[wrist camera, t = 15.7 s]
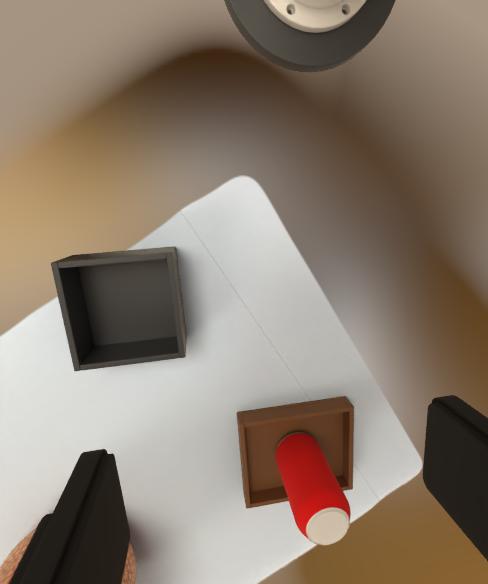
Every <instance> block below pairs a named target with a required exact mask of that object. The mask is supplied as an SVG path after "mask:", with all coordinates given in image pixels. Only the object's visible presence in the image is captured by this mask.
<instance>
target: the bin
mask: <svg viewBox="0 0 488 584" xmlns="http://www.w3.org/2000/svg"><path fill="white" fill-rule="evenodd" d="M51 266H52V271H53V275H54V280H55V284H56V289H57V293H58V298H59V303H60V307H61V312H62V316H63V321H64V325H65V330H66V334H67V339H68V343H69V348H70V353H71V357H72V362H73V366H74V371H80V370H88V369H96V368H104V367H112V366H120V365H128V364H136V363H144V362H152V361H160V360H168V359H176V358H179V357H180V358H184V357H185V354H186V340H187V336H186V328H185V320H184V312H183V303H182V295H181V287H180V279H179V271H178V263H177V255H176V247H164V248H152V249H140V250H128V251H117V252H105V253H93V254H81V255H72V256H69V257H66V258H63V259H61V260H58V261H55V262H52V263H51Z"/></svg>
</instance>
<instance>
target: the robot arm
mask: <svg viewBox="0 0 488 584" xmlns="http://www.w3.org/2000/svg"><path fill="white" fill-rule="evenodd" d="M264 2H265V3H266V4H267V6H268V7H269V8H270V10H271V11H272V12H273V13H274V14H275V15H276V16H277V17H278V18H279V19H280V20H281V21H283V22H284V23H286V24H288V25H289V26H291V27H293V28H295V29H298V30H301V31H304V32H312V33H319V32H327V31H330V30H333V29H335V28H338V27H340V26H341V25H343V24H344V23H346V22H348V21H349V20H350V19H351V18H352V17H353V16H354V15H355V14H356V13H357V12H358V11H359V9H360V8H361V7H362V6H363V4H364V3H365V2H366V0H264ZM288 12H289V13H290V14H291V15H290V14H288ZM342 12H343V13H344V14H343V13H342ZM423 480H424V483H425V485H426V487H427V489H428V490H429V491H430V492H431V494H432V495H433V496H434V497H435V498H436V500H437V501H438V502H439V503H440V504H441V506H442V507H443V508H444V509H445V510H446V512H447V513H448V514H449V515H450V516H451V518H452V519H453V520H454V521H455V522H456V524H457V525H458V526H459V527H460V528H461V530H462V531H463V532H464V533H465V534H466V536H467V537H468V538H469V539H470V540H471V541H472V543H473V544H474V545H475V546H476V548H478V550H479V551H480V552H481V554H482V555H483V556H484V557H485V558H486V559H487V561H488V418H487V417H485V416H484V415H482V414H481V413H479V412H478V411H477V410H475V409H474V408H472V407H471V406H470V405H468V404H467V403H465V402H464V401H463V400H461V399H460V398H458V397H457V396H454V395H450V396H444V397H438V398H434V399H433V400H432V403H431V404H430V405H429V406H428V414H427V427H426V440H425V453H424V465H423ZM129 541H130V532H129V526H128V521H127V516H126V511H125V506H124V501H123V496H122V491H121V486H120V481H119V476H118V471H117V466H116V461H115V457H114V455H113V454H107V451H106V450H105V449H102V450H95V451H89V452H83V453H82V454H81V456H80V457H79V459H78V462H77V464H76V466H75V468H74V470H73V472H72V474H71V476H70V478H69V480H68V483H67V485H66V487H65V489H64V491H63V493H62V495H61V497H60V499H59V502H58V504H57V506H56V508H55V510H54V512H53V513H52V514H47V515H45V516H44V517H43V518H42V520H41V521H40V523H39V524H38V526H37V528H36V530H35V532H34V534H33V536H32V538H31V540H30V542H29V544H28V546H27V548H26V550H25V552H24V554H23V556H22V558H21V560H20V562H19V564H18V566H17V568H16V570H15V572H14V574H13V576H12V578H11V580H10V582H9V584H121V583H122V578H123V573H124V568H125V563H126V558H127V553H128V548H129Z"/></svg>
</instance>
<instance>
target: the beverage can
mask: <svg viewBox="0 0 488 584" xmlns="http://www.w3.org/2000/svg"><path fill="white" fill-rule="evenodd" d="M275 456H276V462H277V465H278V469H279V472H280V475H281V478H282V481H283V484H284V487H285V490H286V493H287V496H288V500H289V503H290V506H291V509H292V512H293V515H294V518H295V521H296V524H297V526H298V528H299V530H300V531H301V532H302V534H303V535H304V536H306V537H307V538H308V539H309V540H310V541H312V542H313V543H315V544H318V545H328V544H332V543H335V542H337V541H338V540H340V539H341V538H342V537H343V536H344V535H345V534H346V532H347V531H348V528H349V525H350V506H349V503H348V500H347V498H346V496H345V495H344V493H343V491H342V489H341V487H340V485H339V483H338V481H337V479H336V477H335V476H334V474H333V472H332V470H331V468H330V466H329V464H328V462H327V460H326V458H325V457H324V455H323V453H322V451H321V449H320V447H319V445H318V443H317V442H316V440H315V439H314V438H313V437H312V436H310V435H309V434H306V433H302V432H296V433H292V434H289V435H287V436H286V437H284V438H283V439H282V440H281V441H280V443H279V444H278V446H277V449H276V455H275Z"/></svg>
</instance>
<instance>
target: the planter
mask: <svg viewBox="0 0 488 584" xmlns="http://www.w3.org/2000/svg"><path fill="white" fill-rule="evenodd" d="M34 532H35V530H34V531H32V532H31V533H30V534H29V535H27V536H26V537H25V538H24V539H23V540H22V541H21V542H20V543H19V544H18V545H17V546H16V547H15V548H14V549H13V550H12V551H11V553H10V554H9V555H8V557H7V558H6V559H5V561H4V562H3V564H2V565H1V566H0V584H9V582H10V580H11V578H12V576H13V574H14V572H15V570H16V568H17V566H18V564H19V562H20V560H21V558H22V556H23V554H24V552H25V550H26V548H27V546H28V544H29V542H30V540H31V538H32V536H33V534H34ZM121 584H136V561H135V555H134V552H133V549H132V546H131V544H130V542H129V548H128V553H127V558H126V563H125V568H124V573H123V578H122V583H121Z"/></svg>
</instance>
